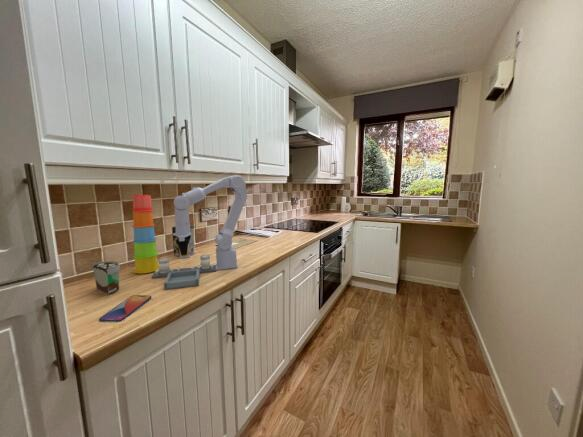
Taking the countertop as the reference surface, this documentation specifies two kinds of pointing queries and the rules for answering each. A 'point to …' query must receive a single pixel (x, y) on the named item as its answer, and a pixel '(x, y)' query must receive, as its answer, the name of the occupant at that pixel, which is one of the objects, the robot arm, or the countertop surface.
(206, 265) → the cylinder
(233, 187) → the robot arm
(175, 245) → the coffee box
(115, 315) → the smartphone
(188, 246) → the marked fuse
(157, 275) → the board
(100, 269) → the food container
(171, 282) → the tray
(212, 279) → the countertop surface
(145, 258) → the stacking cups
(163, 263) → the ball
